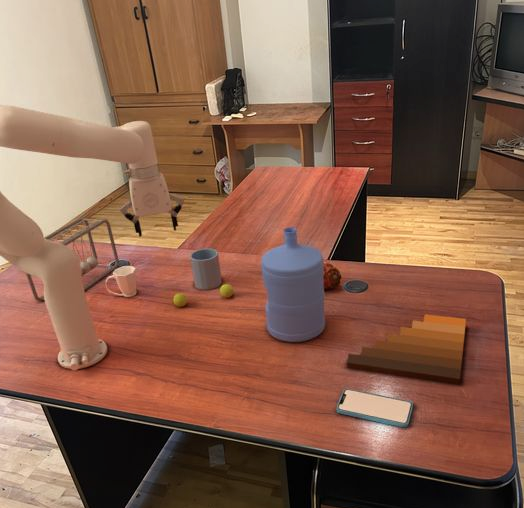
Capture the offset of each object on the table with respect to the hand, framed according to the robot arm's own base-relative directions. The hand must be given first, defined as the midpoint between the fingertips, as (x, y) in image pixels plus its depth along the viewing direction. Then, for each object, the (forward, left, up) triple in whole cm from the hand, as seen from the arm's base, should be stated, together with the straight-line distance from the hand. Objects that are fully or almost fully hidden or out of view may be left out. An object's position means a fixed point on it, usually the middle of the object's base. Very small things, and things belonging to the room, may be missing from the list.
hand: (157, 231), depth 152 cm
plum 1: (-4, -2, -23) cm, 23 cm away
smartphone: (-65, -36, -23) cm, 78 cm away
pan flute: (-47, -53, -23) cm, 74 cm away
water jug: (-28, -30, -23) cm, 47 cm away
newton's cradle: (+24, +28, -23) cm, 43 cm away
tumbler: (+7, -12, -23) cm, 27 cm away
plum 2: (-4, -16, -23) cm, 28 cm away
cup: (+10, +14, -23) cm, 28 cm away
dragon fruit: (-10, -44, -23) cm, 51 cm away
